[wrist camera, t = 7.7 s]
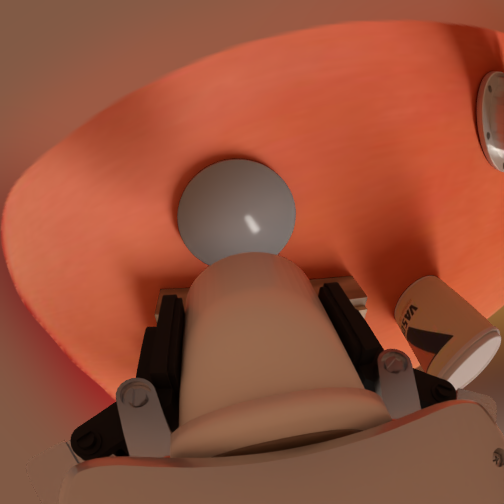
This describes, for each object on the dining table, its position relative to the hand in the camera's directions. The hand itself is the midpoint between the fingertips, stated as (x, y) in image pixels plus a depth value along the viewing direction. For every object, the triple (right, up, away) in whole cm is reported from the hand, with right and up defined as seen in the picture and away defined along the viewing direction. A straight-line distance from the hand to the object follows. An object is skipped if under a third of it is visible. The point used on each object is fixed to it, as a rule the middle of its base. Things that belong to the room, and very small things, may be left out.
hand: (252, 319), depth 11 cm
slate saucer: (-1, +6, +10) cm, 12 cm away
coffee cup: (+21, -3, +18) cm, 28 cm away
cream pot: (0, 0, +1) cm, 1 cm away
